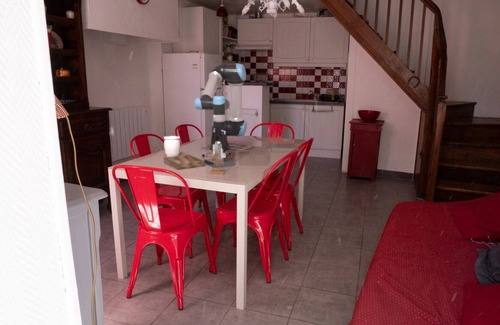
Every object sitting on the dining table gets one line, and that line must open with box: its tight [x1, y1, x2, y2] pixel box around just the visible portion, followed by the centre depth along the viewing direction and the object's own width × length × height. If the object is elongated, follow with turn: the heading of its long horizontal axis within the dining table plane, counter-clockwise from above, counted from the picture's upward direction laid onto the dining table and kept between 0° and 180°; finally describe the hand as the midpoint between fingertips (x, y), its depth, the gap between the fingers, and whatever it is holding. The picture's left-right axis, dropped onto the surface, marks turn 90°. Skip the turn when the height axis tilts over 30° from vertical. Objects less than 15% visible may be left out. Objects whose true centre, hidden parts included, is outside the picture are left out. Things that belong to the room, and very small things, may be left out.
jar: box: [163, 135, 181, 157], centre depth 257 cm, size 11×10×15 cm
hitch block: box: [203, 157, 235, 169], centre depth 243 cm, size 14×14×3 cm
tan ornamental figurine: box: [208, 153, 226, 176], centre depth 221 cm, size 9×4×12 cm, turn 76°
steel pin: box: [215, 141, 223, 161], centre depth 241 cm, size 5×5×15 cm
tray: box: [163, 154, 206, 171], centre depth 241 cm, size 18×22×4 cm
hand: (219, 156), depth 242 cm, fingers open, 10 cm apart
